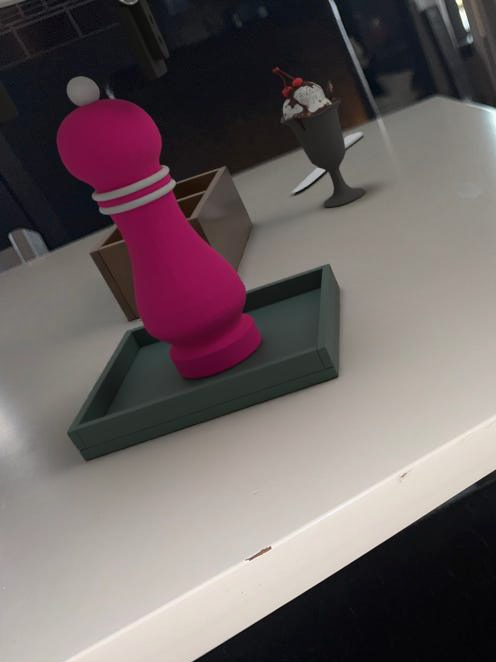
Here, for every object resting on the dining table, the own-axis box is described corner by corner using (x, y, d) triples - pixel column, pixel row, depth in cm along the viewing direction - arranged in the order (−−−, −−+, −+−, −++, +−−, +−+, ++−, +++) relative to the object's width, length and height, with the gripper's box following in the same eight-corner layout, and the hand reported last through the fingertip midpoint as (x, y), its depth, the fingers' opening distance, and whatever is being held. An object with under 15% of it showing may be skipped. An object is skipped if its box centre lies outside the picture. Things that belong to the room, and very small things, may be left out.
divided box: (128, 321, 71) (88, 253, 67) (169, 251, 88) (139, 194, 84) (231, 287, 71) (196, 217, 67) (252, 224, 88) (226, 165, 84)
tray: (85, 461, 49) (65, 433, 48) (140, 354, 63) (125, 330, 62) (338, 376, 49) (325, 346, 48) (339, 288, 63) (329, 263, 62)
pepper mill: (213, 388, 51) (50, 88, 42) (154, 378, 56) (-7, 104, 46) (288, 331, 56) (157, 50, 46) (228, 326, 60) (96, 67, 51)
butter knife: (366, 130, 113) (348, 134, 113) (304, 188, 93) (283, 193, 94) (367, 132, 113) (349, 137, 114) (305, 191, 93) (284, 196, 94)
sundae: (305, 214, 85) (248, 77, 78) (335, 190, 90) (284, 60, 83) (354, 207, 82) (299, 63, 75) (382, 182, 87) (333, 46, 80)
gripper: (94, -274, 42) (226, 50, 50) (-212, -180, 42) (-29, 129, 50) (48, -316, 35) (208, 65, 44) (-316, -205, 35) (-85, 156, 43)
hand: (82, 99), depth 47 cm, fingers open, 9 cm apart
